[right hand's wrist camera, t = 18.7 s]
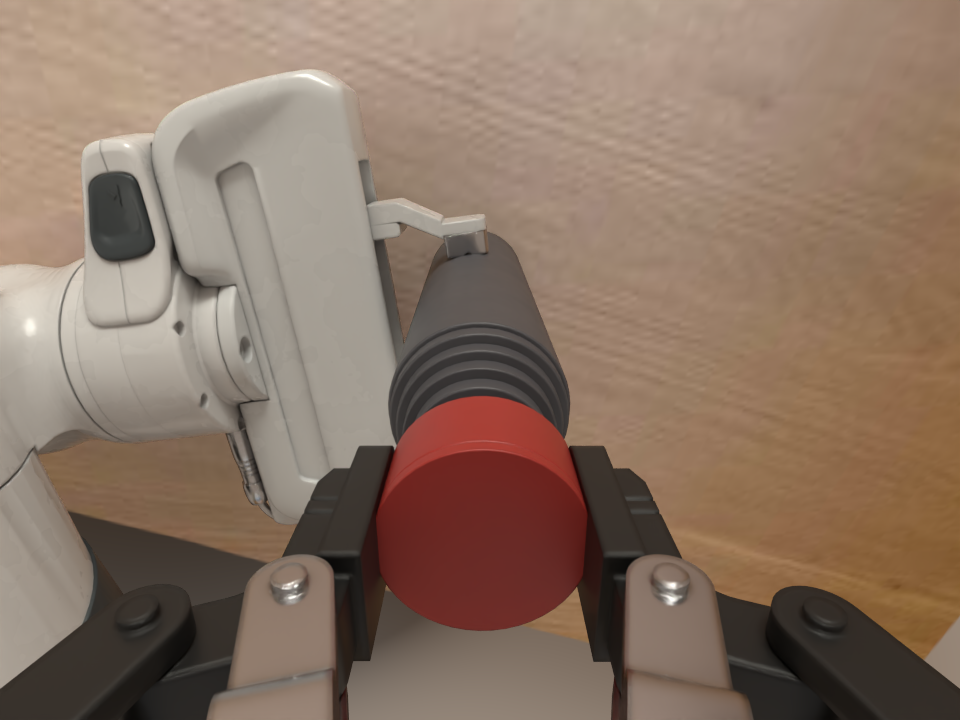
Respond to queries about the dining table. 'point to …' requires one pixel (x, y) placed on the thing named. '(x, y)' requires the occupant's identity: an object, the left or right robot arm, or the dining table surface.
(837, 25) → the dining table surface
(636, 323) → the dining table surface
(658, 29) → the dining table surface
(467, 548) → the cap
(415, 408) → the bottle
